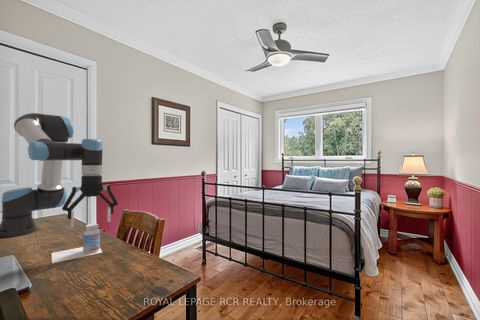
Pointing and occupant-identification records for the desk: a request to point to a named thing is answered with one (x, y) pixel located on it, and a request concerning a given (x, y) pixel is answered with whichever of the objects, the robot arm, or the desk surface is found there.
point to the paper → (71, 254)
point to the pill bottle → (91, 239)
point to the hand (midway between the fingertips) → (91, 223)
